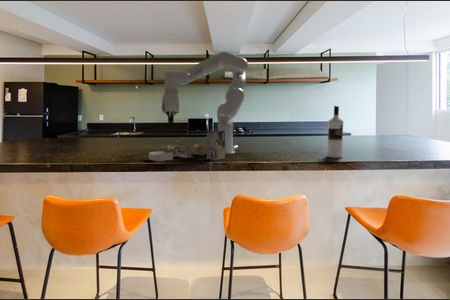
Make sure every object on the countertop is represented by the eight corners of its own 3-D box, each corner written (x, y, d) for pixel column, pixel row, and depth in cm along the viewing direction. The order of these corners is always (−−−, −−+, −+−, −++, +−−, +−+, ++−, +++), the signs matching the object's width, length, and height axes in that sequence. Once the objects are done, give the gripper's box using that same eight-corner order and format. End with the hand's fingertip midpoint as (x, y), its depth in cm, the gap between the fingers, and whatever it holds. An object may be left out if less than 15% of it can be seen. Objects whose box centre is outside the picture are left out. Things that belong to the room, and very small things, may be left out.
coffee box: (217, 157, 181) (217, 130, 179) (225, 158, 177) (225, 130, 175) (206, 159, 174) (206, 131, 172) (214, 160, 170) (214, 131, 168)
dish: (163, 157, 181) (163, 150, 181) (173, 159, 174) (173, 152, 173) (148, 159, 175) (148, 152, 174) (157, 161, 167) (157, 154, 167)
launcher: (188, 150, 200) (189, 144, 200) (202, 152, 190) (203, 146, 190) (160, 147, 186) (161, 140, 186) (173, 149, 175) (174, 142, 175)
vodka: (332, 155, 187) (334, 105, 183) (345, 157, 180) (348, 105, 175) (322, 156, 182) (324, 105, 178) (335, 158, 175) (338, 105, 170)
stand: (190, 152, 200) (189, 146, 200) (205, 155, 188) (205, 149, 188) (162, 156, 187) (161, 149, 186) (177, 159, 174) (177, 152, 174)
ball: (196, 149, 193) (196, 144, 193) (199, 150, 190) (200, 144, 190) (191, 149, 190) (192, 143, 190) (194, 150, 188) (195, 144, 188)
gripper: (178, 93, 192) (177, 122, 195) (156, 91, 183) (156, 122, 185) (184, 93, 187) (184, 123, 189) (163, 91, 177) (163, 123, 179)
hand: (170, 122), depth 187 cm, fingers closed
